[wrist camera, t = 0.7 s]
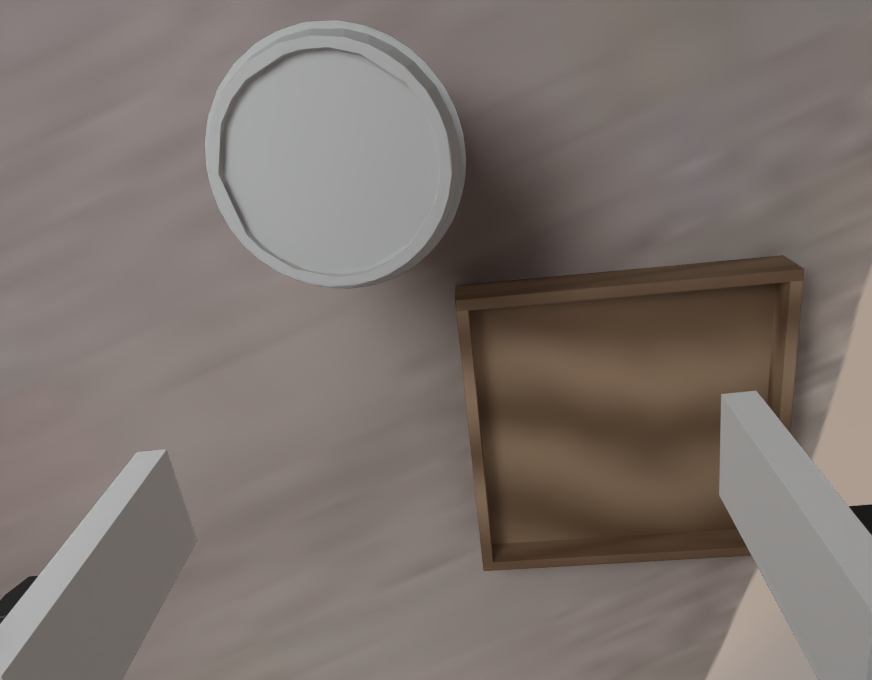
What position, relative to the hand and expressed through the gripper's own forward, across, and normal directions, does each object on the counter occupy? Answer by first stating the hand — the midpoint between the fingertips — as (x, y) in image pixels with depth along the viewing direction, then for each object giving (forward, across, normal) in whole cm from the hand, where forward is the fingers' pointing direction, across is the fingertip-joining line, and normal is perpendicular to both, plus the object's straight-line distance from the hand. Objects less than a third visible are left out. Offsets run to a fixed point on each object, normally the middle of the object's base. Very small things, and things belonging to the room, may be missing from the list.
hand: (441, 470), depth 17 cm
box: (+22, +8, -12) cm, 26 cm away
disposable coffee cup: (+23, -4, +6) cm, 24 cm away
